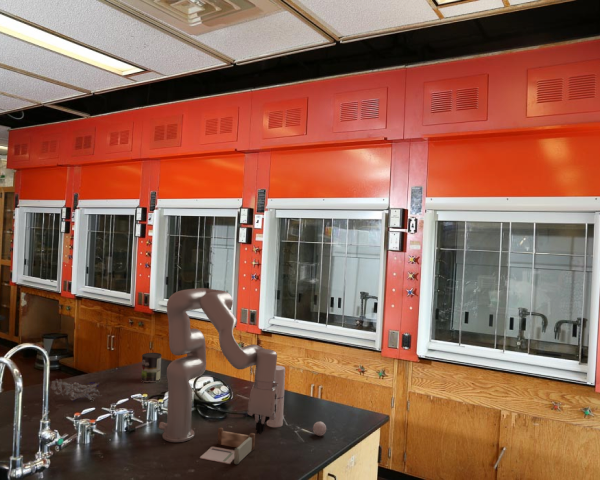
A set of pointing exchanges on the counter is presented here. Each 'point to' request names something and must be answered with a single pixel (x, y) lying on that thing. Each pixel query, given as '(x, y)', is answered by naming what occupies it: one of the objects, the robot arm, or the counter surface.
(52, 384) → the dark piece
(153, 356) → the coffee can
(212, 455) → the card
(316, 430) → the pinkish brown egg
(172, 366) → the robot arm
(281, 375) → the cylindrical container
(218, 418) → the counter surface
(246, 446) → the cream flat slab
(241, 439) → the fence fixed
